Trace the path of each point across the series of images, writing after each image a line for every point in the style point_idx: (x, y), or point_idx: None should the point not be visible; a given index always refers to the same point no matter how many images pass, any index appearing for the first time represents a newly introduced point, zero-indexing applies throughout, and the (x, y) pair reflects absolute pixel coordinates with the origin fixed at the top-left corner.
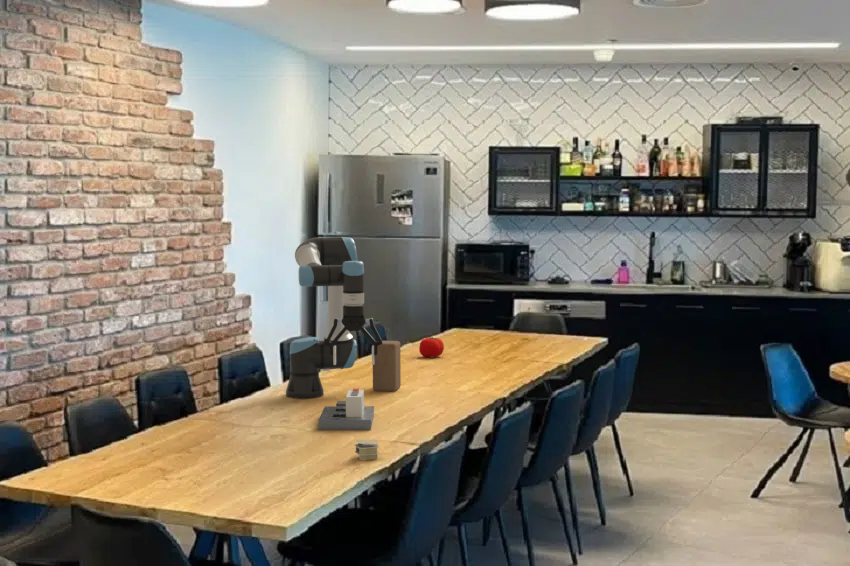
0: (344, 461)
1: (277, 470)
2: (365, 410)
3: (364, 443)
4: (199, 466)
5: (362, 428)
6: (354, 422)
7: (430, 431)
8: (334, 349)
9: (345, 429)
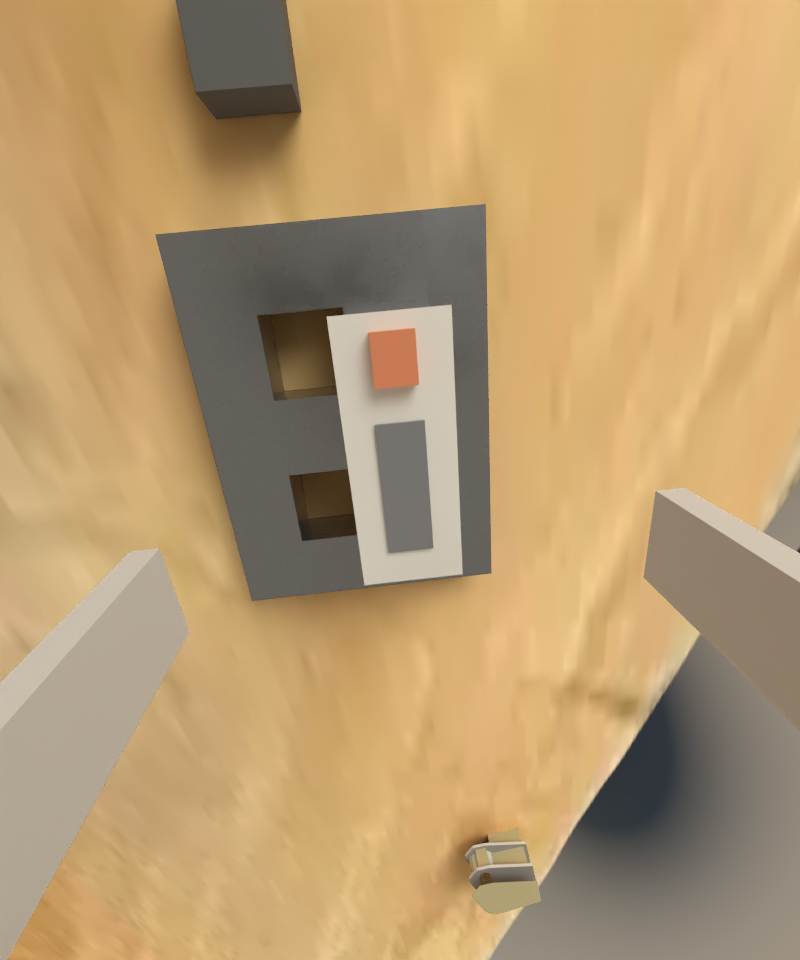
0: (440, 868)
1: (299, 936)
2: None
3: (502, 910)
4: (96, 941)
5: None
6: None
7: None
8: (32, 880)
9: None
